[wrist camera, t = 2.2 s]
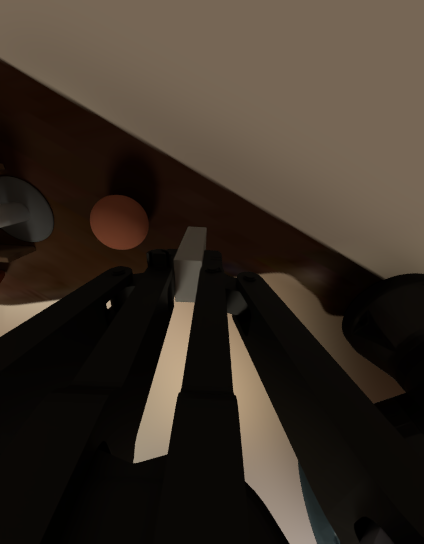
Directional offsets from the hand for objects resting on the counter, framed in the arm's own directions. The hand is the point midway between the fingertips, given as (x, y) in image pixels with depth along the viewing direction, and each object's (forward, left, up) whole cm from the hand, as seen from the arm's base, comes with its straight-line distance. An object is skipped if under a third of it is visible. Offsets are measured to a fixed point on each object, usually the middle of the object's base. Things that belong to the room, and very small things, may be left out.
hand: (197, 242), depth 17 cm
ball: (+6, +7, -6) cm, 11 cm away
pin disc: (+15, +18, -9) cm, 25 cm away
